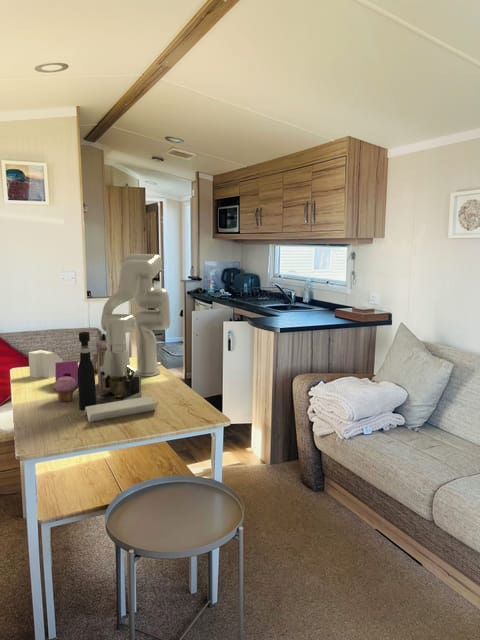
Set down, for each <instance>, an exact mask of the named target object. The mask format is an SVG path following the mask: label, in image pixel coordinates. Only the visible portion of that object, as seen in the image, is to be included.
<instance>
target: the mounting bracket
mask: <svg viewBox="0 0 480 640" xmlns="http://www.w3.org/2000/svg"><path fill="white" fill-rule="evenodd" d="M55 364H56V377H55V382H56V381H57V380H58V379H59V378H61V377H65V376H68V377H72V378H74V379H75V380H76V382H77V387H76V388H75V389H74V391H77V389H78V374H77V373H78V366H79V361H77V360H75V361H74V360H73V361H63V362H59V363H55Z"/></svg>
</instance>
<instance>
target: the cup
mask: <svg viewBox="0 0 480 640" xmlns="http://www.w3.org/2000/svg"><path fill="white" fill-rule="evenodd" d="M125 381H126V379H124V377H119V378H118V377H117V379H116V378H115V377H114V378H113V377H112V379H111V378H110V379H109V385H110V390H111V392H112V393H113V394H115V395H114V397H115V398H122V397H123V393H125V391H126V390H125Z"/></svg>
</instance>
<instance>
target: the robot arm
mask: <svg viewBox="0 0 480 640" xmlns="http://www.w3.org/2000/svg"><path fill="white" fill-rule="evenodd" d="M162 267H163V260H162V257H161V256H160V255H159V254H156V253H130V254H126V255H125V256H124V258H123V263H122V264H121V270H120V274H119V281H118V284H117V285H118V286H117V291H115V292H114V293H113V294H112V295H111V296H110V297H109V298H108V299H107V300H106V301H105V303H104V306H103V308H102V313H101V314H102V315H101V320H100V323H101V324H100V325H101V326H100V327H101V329H102V330H103V331H104V332H105V333H106V341H107V344H105V347H107V351H106V352H105V357H104V365H103V366H101V367H99V369H100V371H101V374H102V375H103V376H104V379H105V385H106V388H109V387H110V385H109V379H110V378H111V377H110V376H117V377H123V376H124V378H125V379H126V381H125V390H126V391H128V390H130V389H131V387H132V385H131V380H132V379H133V378H134V377H135V376H141V377H154V376H158V375H160V374H161V370H160V369H158V367H159V366H161V364H162V363H161V362H160V361H159V362H158V360H157V359H158V357H157V355H158V354H157V337H156V335H155V333H154V332H153V330H154V331H158V330H159V331H164V330H168V329H169V328H170V325H171V311H170V297H169V291H168V290H167V289H165V288H161V287H160V288H159V287H158V288H157V287H154V285H153V279H154V278H155V277H156V276H157V275H158V274H159V272H161V269H162ZM133 299H135V305H136V306H137V307H138V308H140V310H138V311H136V312H135V313H134V315H133V314H129V313H127V314H126V313H113V312H114V310H115V309H116V308H117V307H118V306H120V305H122V304H124V303H126V302H129V301H131V300H133ZM141 308H142V309H143V308H144V309H143V310H141ZM145 308H146V309H145ZM154 309H156V310H154ZM157 309H158V310H157ZM133 331H135V336H136V339H135V340H136V360H137V369H135V368H133V367H132V366H131V364H130V363H131V361H130V355H129V351H128V350H127V336H126V335H127V333H132V332H133ZM127 376H128V377H127Z"/></svg>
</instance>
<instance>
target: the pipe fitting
mask: <svg viewBox="0 0 480 640" xmlns="http://www.w3.org/2000/svg"><path fill="white" fill-rule="evenodd" d="M91 354H92V357H93V358H92V359H91V361H92V364H93V367H94V371H95V373H98V368H97V351H95V352H92V353H91Z"/></svg>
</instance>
